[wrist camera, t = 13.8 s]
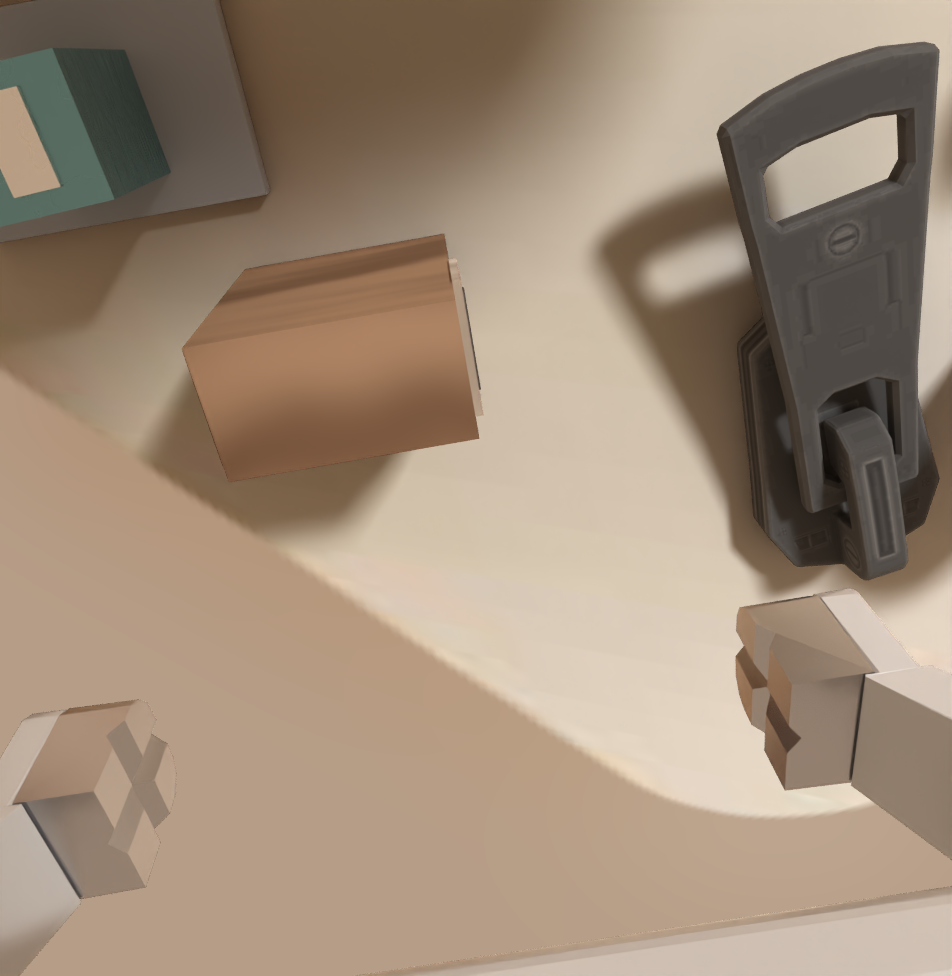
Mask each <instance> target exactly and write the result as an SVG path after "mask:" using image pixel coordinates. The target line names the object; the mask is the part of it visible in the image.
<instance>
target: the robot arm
mask: <svg viewBox="0 0 952 976" xmlns="http://www.w3.org/2000/svg"><path fill="white" fill-rule="evenodd" d="M736 631H737V633H738V635H739V637H740V639H741V641H742V642H743V644H744V647H743V648H742V649H741V650H740V652H739V653H738V654H737V655H736V679H737V684H738V690H739V695H740V698H741V701H742V704H743V707H744V710H745V712H746V714H747V716H748V718H749V720H750V722H751V724H752V725H753V726H755V727H756V728H758V729H760V730H761V731H763V732H764V733H765V748H764V751H765V753H766V754H767V756H768V758H769V760H770V762H771V764H772V766H773V768H774V770H775V772H776V774H777V776H778V778H779V780H780V782H781V784H782V786H783V788H784V790H793V789H801V788H809V787H817V786H825V785H833V784H841V783H849V782H852V783H851V786H853V787H854V788H855V789H857V790H858V791H859V792H861V793H862V794H863V795H865V796H866V797H867V798H869V799H870V800H871V801H873V802H874V803H875V804H877V805H878V806H880V807H881V808H882V809H884V810H885V811H886V812H888V813H889V814H890V815H892V816H893V817H894V818H896V819H897V820H898V821H900V822H901V823H903V824H904V825H905V826H906V827H908V828H909V829H910V830H912V831H913V832H915V833H916V834H918V835H919V836H920V837H921V838H923V839H924V840H925V841H927V842H928V843H929V844H931V845H932V846H933V847H935V848H936V849H937V850H939V851H940V852H941V853H943V854H944V855H946V856H947V857H948V858H950V859H951V860H952V674H950V673H948V672H946V671H943V670H941V669H939V668H937V667H935V666H932V665H928V666H921V667H920V666H919V665H918V664H917V662H916V661H915V660H914V659H913V658H912V656H911V655H910V654H909V653H908V652H907V650H906V649H905V648H904V647H903V646H902V644H901V643H900V642H899V641H898V640H897V638H896V637H895V636H894V635H893V634H892V632H891V631H890V630H889V629H888V628H887V626H886V625H885V624H884V623H883V622H882V620H881V619H880V618H879V617H878V616H877V614H876V613H875V612H874V611H873V610H872V608H871V607H870V606H869V605H868V604H867V602H866V601H865V600H864V599H863V598H862V596H861V595H860V594H859V593H858V592H857V591H855V590H853V589H851V588H848V589H842V590H836V591H831V592H825V593H819V594H814V595H813V596H807V597H800V598H794V599H788V600H782V601H775V602H769V603H763V604H757V605H750V606H744V607H740V608H739V611H738V614H737V625H736ZM155 723H156V718H155V716H154V714H153V712H152V711H151V708H150V706H149V705H148V703H147V702H145V701H142V700H131V701H123V702H115V703H108V704H100V705H92V706H85V707H77V708H69V709H68V710H59V711H51V712H45V713H36V714H32V715H30V716H29V717H27V718H26V719H24V720H23V721H22V722H21V724H20V726H19V727H18V729H17V731H16V732H15V734H14V736H13V738H12V739H11V741H10V742H9V744H8V746H7V748H6V749H5V751H4V753H3V754H2V756H1V758H0V976H20V974H21V973H22V972H23V971H24V970H25V969H26V967H27V966H28V965H29V964H30V963H31V962H32V960H33V959H34V958H35V957H36V956H37V954H38V953H39V952H40V951H41V950H42V949H43V947H44V946H45V945H46V944H47V943H48V942H49V940H50V939H51V938H52V937H53V936H54V934H55V933H56V932H57V931H58V929H59V928H60V927H61V926H62V925H63V924H64V923H65V921H66V920H67V919H68V918H69V917H70V916H71V914H72V913H73V912H74V911H75V910H76V908H77V907H78V906H79V905H80V904H81V900H80V899H84V898H89V897H95V896H101V895H106V894H112V893H117V892H123V891H128V890H134V889H139V888H145V887H146V886H147V882H148V879H149V876H150V873H151V870H152V867H153V864H154V861H155V858H156V855H157V852H158V849H159V846H160V843H161V842H160V840H159V838H158V836H157V834H156V832H155V830H154V829H155V828H156V827H157V826H158V825H159V824H160V823H161V822H162V821H163V820H164V819H165V817H167V816H168V815H169V814H170V811H171V808H172V804H173V801H174V798H175V792H176V769H175V764H174V759H173V755H172V753H171V751H170V748H169V746H168V744H167V743H166V742H164V741H162V740H161V739H159V738H158V737H156V736H154V735H153V734H151V733H152V730H153V728H154V725H155ZM357 976H952V886H950V887H943V888H936V889H930V890H923V891H916V892H910V893H903V894H896V895H890V896H883V897H876V898H869V899H863V900H856V901H849V902H843V903H836V904H829V905H823V906H816V907H809V908H803V909H796V910H790V911H783V912H776V913H769V914H763V915H756V916H750V917H743V918H736V919H729V920H723V921H717V922H710V923H703V924H696V925H690V926H684V927H677V928H670V929H663V930H656V931H650V932H643V933H636V934H630V935H623V936H616V937H610V938H603V939H597V940H590V941H584V942H577V943H570V944H563V945H557V946H551V947H544V948H537V949H530V950H523V951H517V952H510V953H504V954H497V955H490V956H483V957H477V958H470V959H463V960H457V961H450V962H443V963H437V964H430V965H423V966H417V967H410V968H404V969H397V970H390V971H384V972H377V973H370V974H363V975H357Z"/></svg>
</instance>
